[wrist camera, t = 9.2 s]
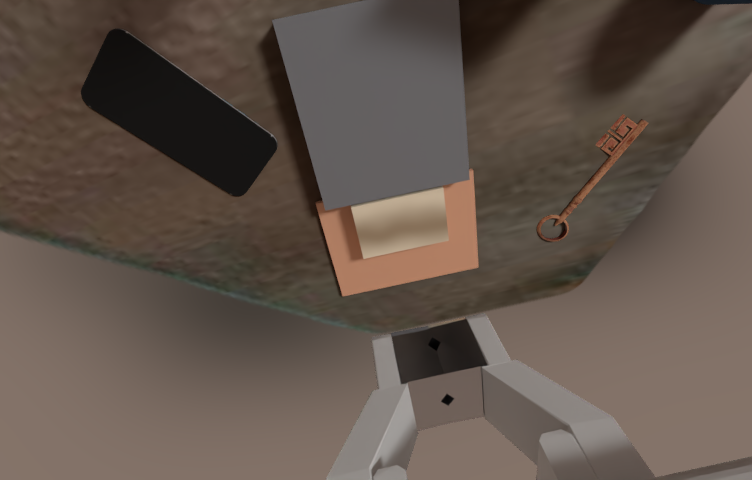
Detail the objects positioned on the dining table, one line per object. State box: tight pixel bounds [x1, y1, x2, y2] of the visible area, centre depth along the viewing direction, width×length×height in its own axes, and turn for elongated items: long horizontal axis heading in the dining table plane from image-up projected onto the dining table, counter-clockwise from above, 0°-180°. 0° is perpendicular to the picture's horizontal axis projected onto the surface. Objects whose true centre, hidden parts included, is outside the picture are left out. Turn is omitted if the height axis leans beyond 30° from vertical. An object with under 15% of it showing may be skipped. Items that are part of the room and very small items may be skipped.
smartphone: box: [81, 29, 277, 196], centre depth 34 cm, size 7×1×15 cm
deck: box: [272, 0, 470, 211], centre depth 34 cm, size 16×14×2 cm
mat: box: [316, 169, 478, 296], centre depth 42 cm, size 12×16×1 cm
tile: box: [351, 186, 449, 259], centre depth 39 cm, size 6×9×2 cm, turn 101°
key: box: [537, 114, 648, 242], centre depth 41 cm, size 6×1×15 cm
